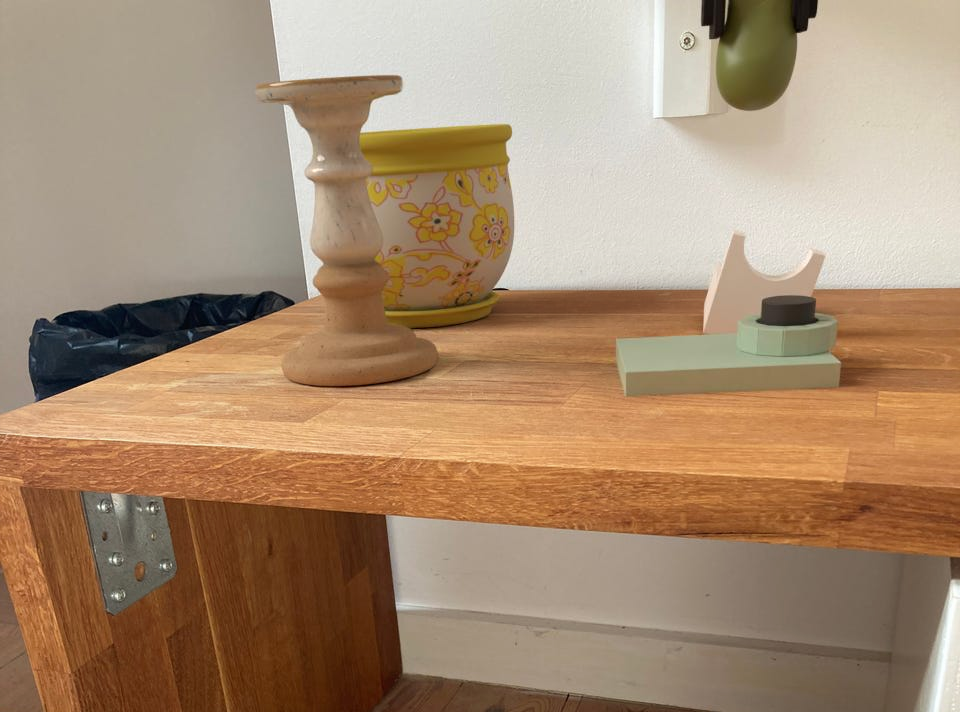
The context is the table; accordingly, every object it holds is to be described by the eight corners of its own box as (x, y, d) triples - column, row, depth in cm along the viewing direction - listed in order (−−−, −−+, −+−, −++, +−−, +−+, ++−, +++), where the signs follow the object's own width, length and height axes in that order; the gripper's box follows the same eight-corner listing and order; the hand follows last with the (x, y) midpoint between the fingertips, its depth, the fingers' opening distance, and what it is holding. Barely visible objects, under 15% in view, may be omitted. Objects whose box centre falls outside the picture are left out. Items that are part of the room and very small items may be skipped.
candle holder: (468, 357, 83) (450, 72, 73) (371, 393, 74) (336, 74, 65) (352, 347, 89) (322, 84, 80) (250, 379, 80) (202, 87, 71)
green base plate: (812, 352, 77) (816, 304, 76) (850, 387, 68) (856, 333, 66) (615, 361, 79) (615, 314, 77) (625, 397, 69) (625, 344, 67)
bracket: (790, 354, 81) (825, 255, 77) (703, 332, 82) (733, 233, 78) (781, 322, 92) (811, 235, 89) (704, 303, 93) (730, 216, 89)
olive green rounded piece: (796, 109, 76) (812, -53, 71) (783, 110, 72) (799, -61, 67) (720, 111, 78) (732, -46, 74) (704, 112, 74) (714, -54, 69)
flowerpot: (469, 338, 90) (456, 129, 82) (299, 331, 97) (273, 139, 90) (547, 302, 104) (542, 121, 97) (394, 299, 111) (378, 130, 104)
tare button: (807, 319, 73) (809, 294, 72) (819, 329, 70) (821, 302, 69) (755, 322, 73) (757, 296, 72) (765, 332, 70) (767, 305, 69)
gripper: (642, -307, 62) (638, 41, 70) (935, -337, 60) (896, 22, 69) (635, -267, 69) (632, 46, 77) (899, -294, 67) (867, 29, 75)
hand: (757, 31), depth 73 cm, fingers closed on olive green rounded piece, 5 cm apart
